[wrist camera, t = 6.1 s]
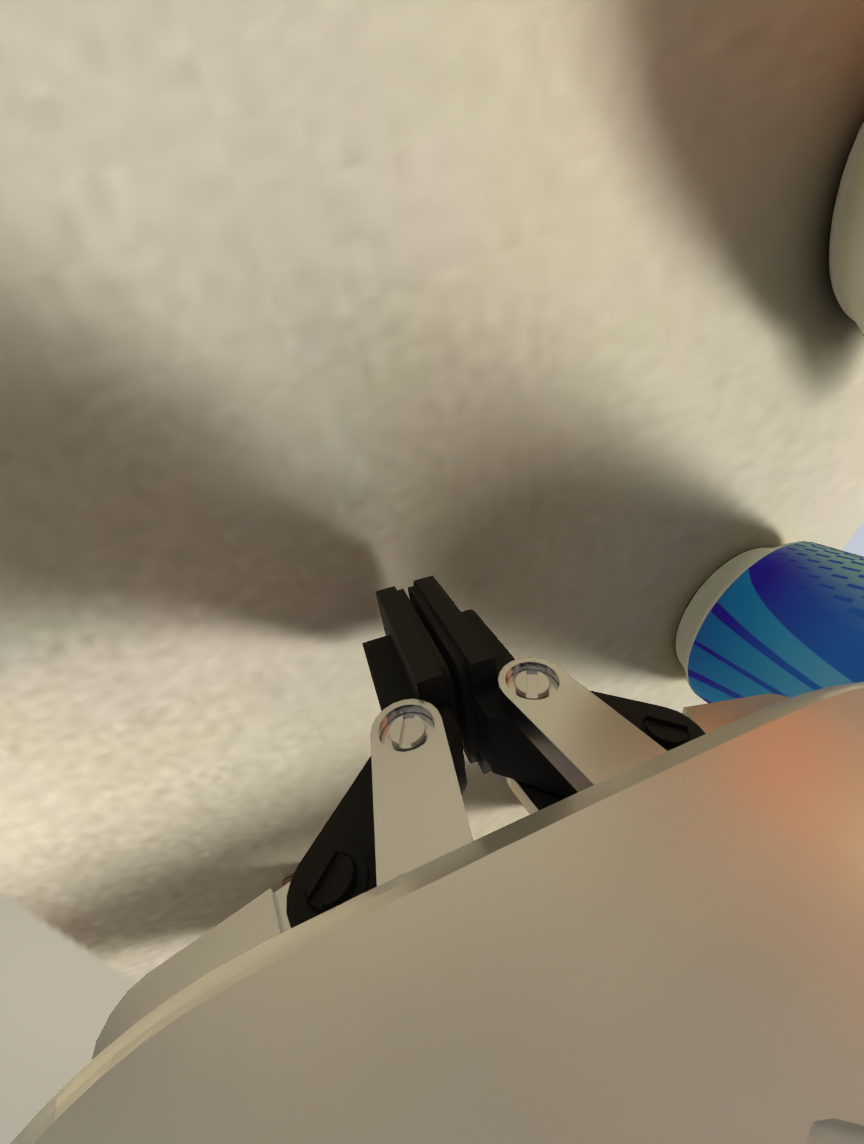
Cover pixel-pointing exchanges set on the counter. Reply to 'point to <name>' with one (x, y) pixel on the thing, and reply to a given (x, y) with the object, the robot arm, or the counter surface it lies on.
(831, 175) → the counter surface
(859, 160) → the teacup
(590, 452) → the counter surface
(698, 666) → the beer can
